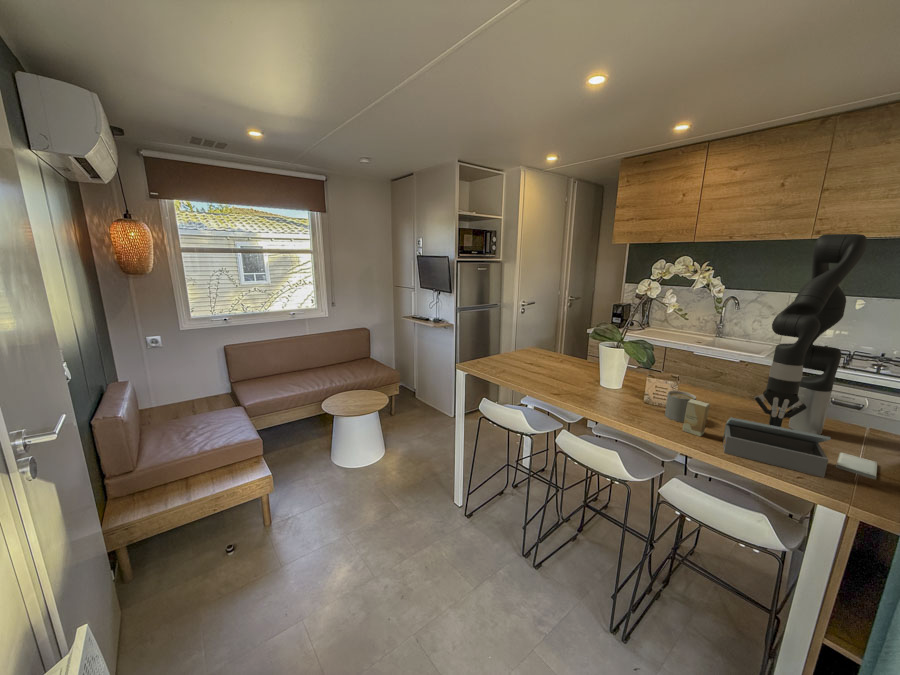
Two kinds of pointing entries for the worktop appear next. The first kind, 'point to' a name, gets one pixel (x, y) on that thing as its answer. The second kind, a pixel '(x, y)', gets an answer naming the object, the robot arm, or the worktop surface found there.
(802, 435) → the cover
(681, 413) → the coffee mug
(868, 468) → the hard drive
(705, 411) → the skincare box
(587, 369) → the worktop surface
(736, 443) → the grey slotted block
